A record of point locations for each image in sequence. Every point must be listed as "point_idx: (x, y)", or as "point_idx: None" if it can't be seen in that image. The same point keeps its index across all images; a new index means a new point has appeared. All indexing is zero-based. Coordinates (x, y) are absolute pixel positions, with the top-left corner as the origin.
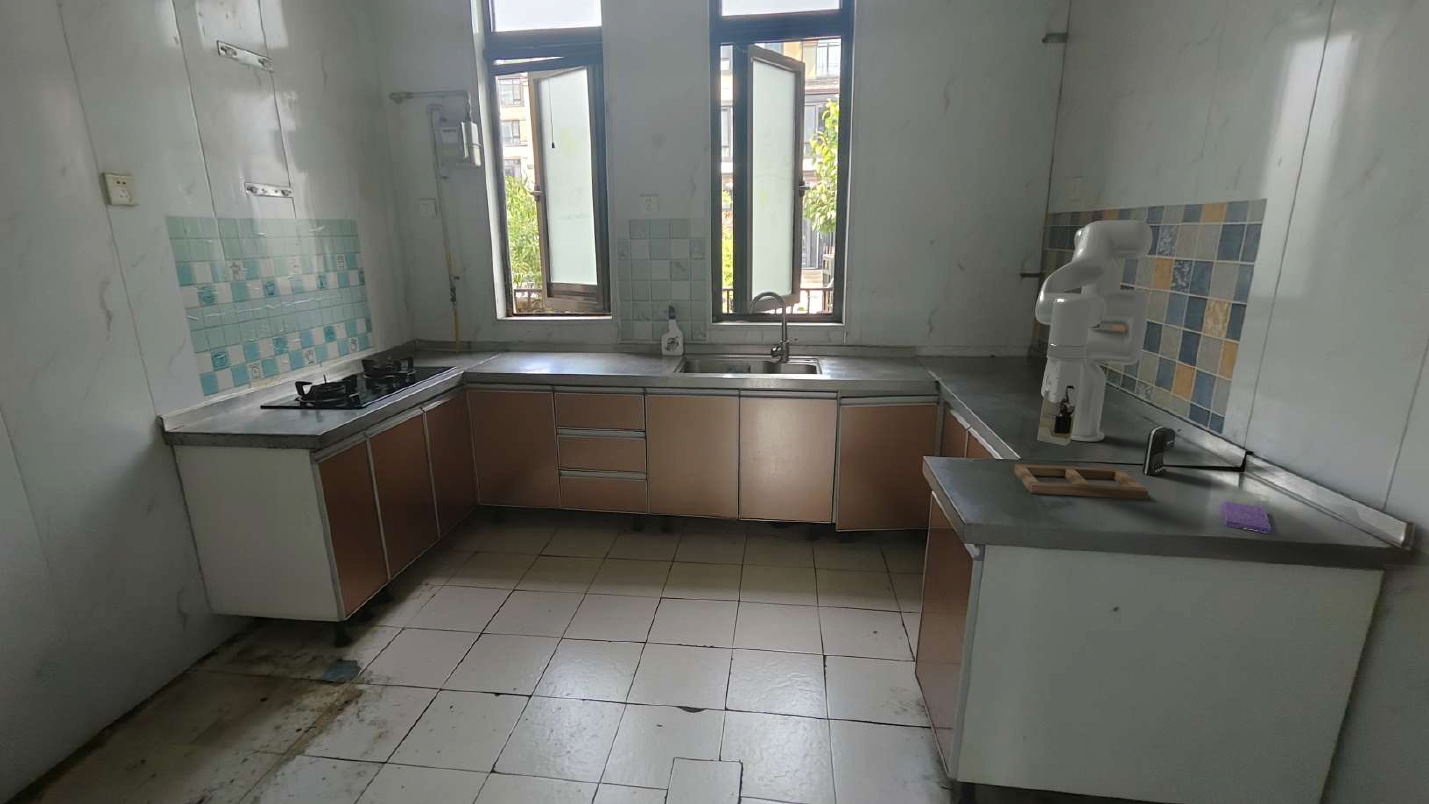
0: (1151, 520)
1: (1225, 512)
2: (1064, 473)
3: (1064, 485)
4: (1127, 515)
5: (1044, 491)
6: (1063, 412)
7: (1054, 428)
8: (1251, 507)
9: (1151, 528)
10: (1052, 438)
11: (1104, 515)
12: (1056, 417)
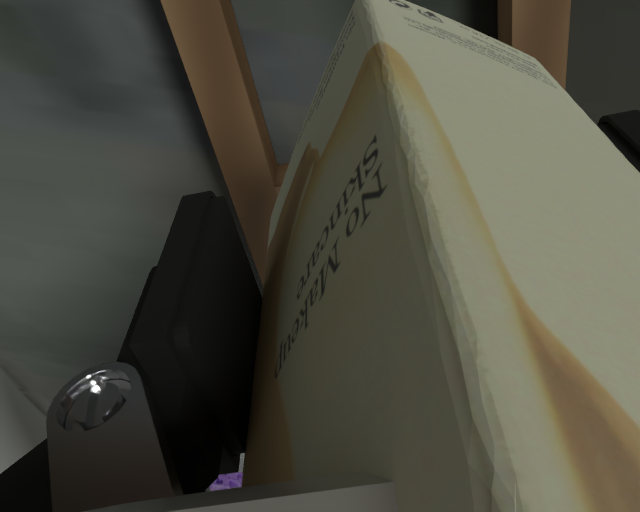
0: (91, 338)
1: (227, 487)
2: None
3: (213, 108)
4: (92, 286)
5: None
6: (21, 480)
7: (192, 214)
8: None
9: (12, 326)
10: (301, 145)
11: (35, 217)
12: (139, 327)
